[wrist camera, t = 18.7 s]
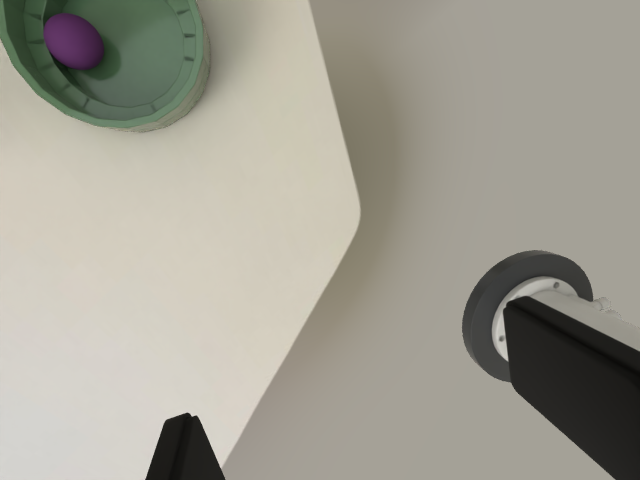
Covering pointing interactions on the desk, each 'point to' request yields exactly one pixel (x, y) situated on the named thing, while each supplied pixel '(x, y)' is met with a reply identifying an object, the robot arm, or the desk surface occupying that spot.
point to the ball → (73, 41)
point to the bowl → (115, 60)
